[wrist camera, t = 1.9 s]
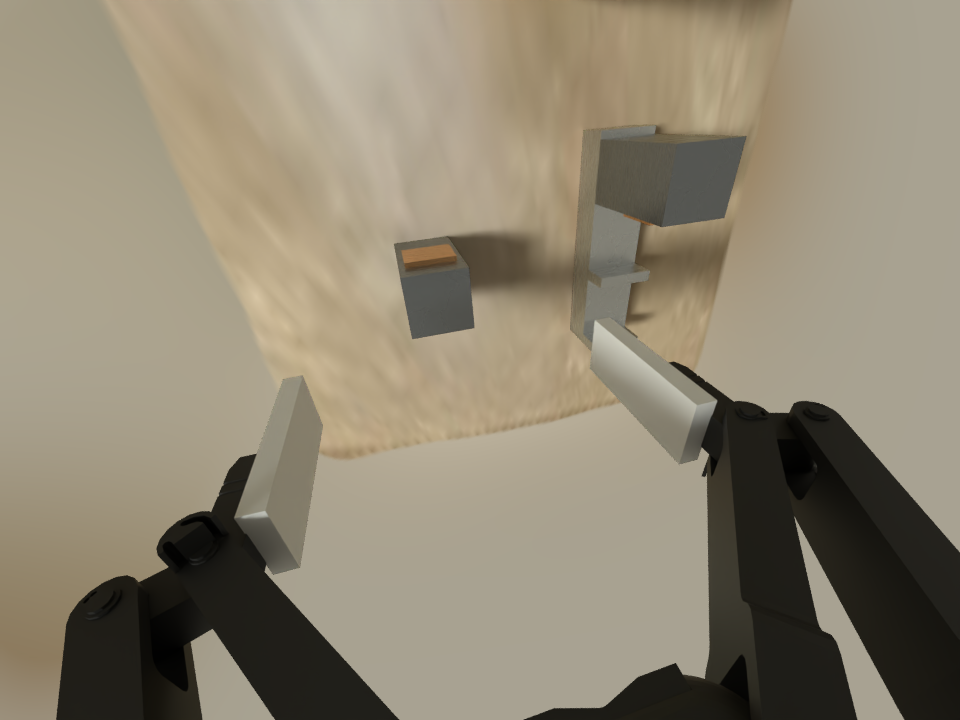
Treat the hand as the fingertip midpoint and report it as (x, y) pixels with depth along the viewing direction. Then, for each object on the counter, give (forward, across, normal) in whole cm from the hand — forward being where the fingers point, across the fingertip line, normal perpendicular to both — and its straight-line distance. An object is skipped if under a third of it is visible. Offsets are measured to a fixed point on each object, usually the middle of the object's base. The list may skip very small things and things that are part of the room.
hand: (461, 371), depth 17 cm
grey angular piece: (+14, +15, 0) cm, 21 cm away
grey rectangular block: (+14, 0, 0) cm, 15 cm away
